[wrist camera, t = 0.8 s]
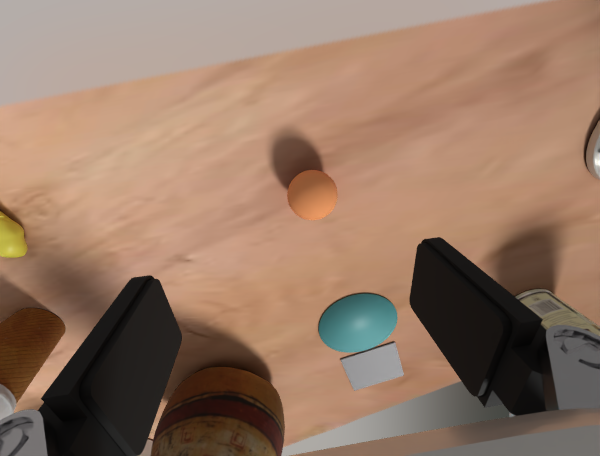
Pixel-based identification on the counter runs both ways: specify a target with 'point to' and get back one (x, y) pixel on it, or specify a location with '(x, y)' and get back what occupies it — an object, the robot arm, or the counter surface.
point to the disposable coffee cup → (24, 352)
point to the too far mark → (373, 366)
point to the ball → (312, 195)
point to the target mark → (357, 322)
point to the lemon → (11, 238)
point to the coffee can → (555, 310)
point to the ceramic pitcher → (221, 416)
